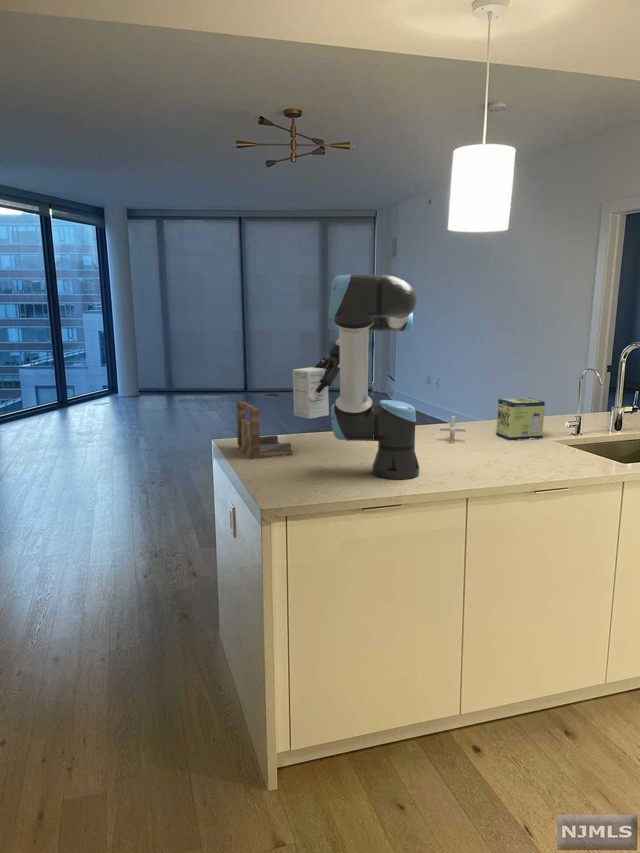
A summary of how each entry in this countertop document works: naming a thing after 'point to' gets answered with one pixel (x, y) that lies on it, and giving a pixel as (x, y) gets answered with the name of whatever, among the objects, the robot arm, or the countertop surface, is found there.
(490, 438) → the countertop surface
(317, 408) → the supplement box
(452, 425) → the pipe connector
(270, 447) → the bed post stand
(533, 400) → the protein box
